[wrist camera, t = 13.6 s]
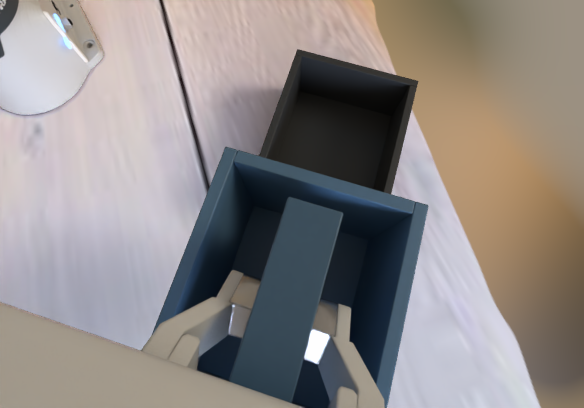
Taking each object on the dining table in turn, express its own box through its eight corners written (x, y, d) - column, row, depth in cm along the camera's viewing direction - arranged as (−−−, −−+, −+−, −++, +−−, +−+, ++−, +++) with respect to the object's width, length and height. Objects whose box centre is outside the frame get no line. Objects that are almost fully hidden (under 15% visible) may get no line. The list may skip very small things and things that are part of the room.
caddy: (331, 423, 22) (406, 677, 8) (186, 373, 23) (11, 518, 9) (377, 235, 26) (488, 170, 11) (249, 197, 27) (198, 89, 12)
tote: (366, 235, 40) (383, 224, 32) (256, 202, 41) (248, 183, 33) (396, 115, 44) (418, 80, 37) (296, 88, 45) (297, 48, 38)
